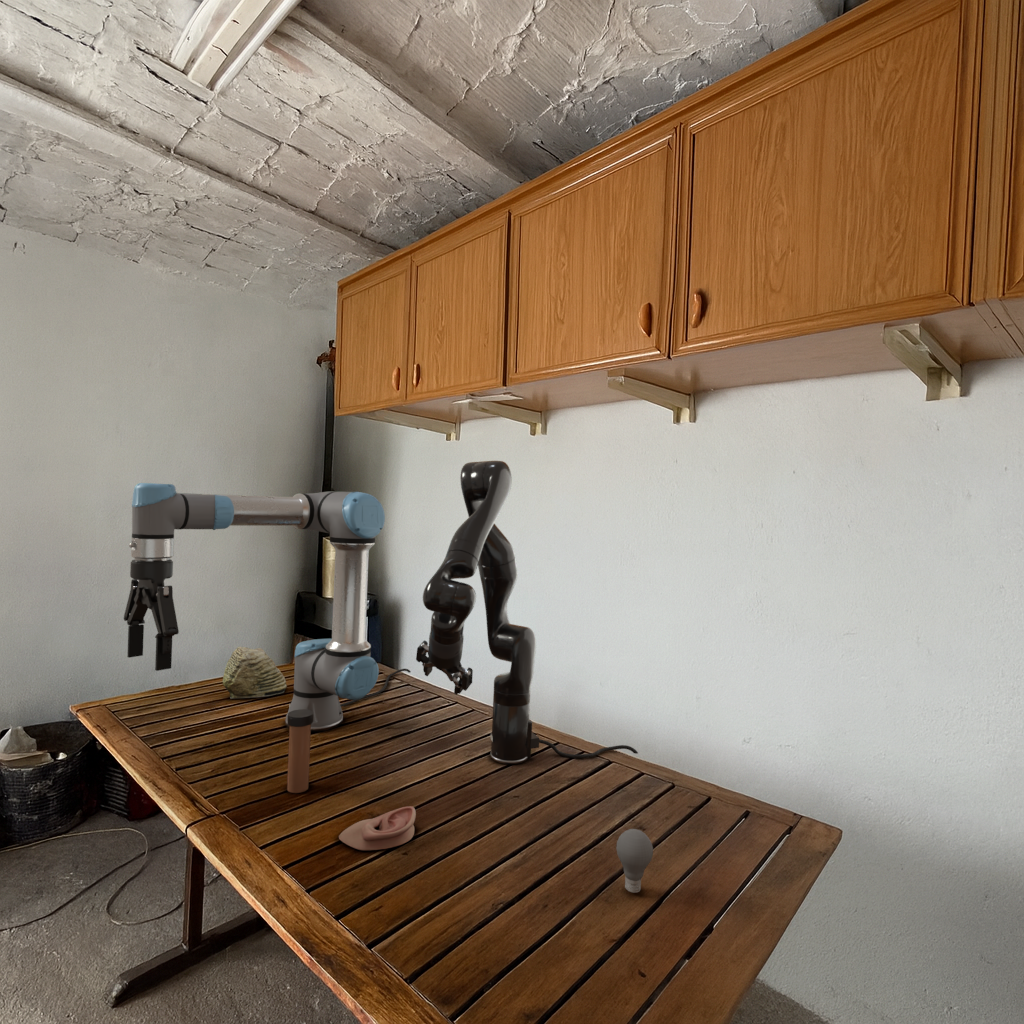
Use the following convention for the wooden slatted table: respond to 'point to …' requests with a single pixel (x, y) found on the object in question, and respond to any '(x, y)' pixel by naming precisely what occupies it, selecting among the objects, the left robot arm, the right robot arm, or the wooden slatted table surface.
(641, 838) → the light bulb
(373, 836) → the anatomical model
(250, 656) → the fossil
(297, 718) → the lid
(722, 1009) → the wooden slatted table surface
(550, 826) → the wooden slatted table surface
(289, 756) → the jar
